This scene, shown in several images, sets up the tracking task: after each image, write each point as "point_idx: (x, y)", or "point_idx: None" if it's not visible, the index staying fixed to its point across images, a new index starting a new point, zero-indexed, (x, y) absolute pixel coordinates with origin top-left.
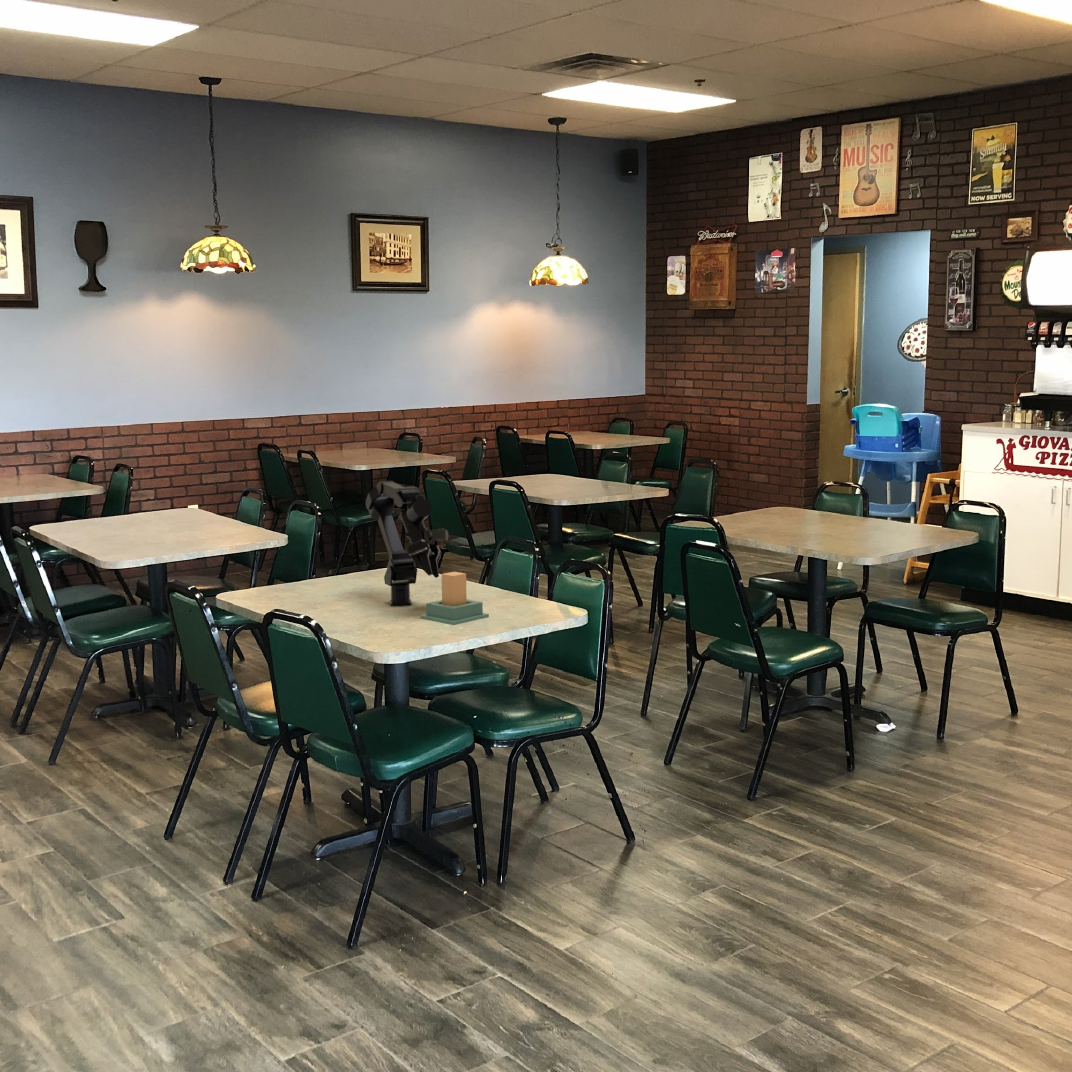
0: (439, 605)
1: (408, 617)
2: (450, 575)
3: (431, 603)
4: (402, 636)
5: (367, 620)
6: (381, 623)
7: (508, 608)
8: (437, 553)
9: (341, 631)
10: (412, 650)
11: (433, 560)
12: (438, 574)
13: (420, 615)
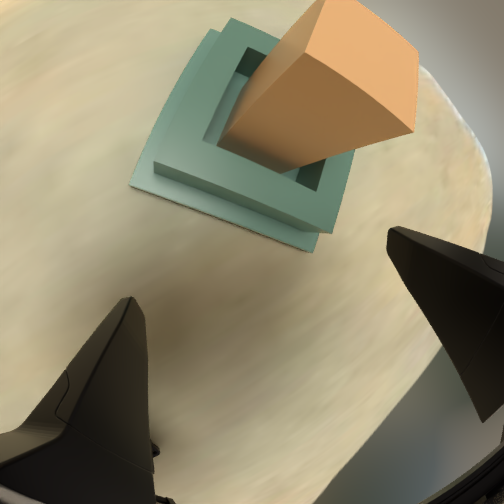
0: (347, 159)
1: (298, 304)
2: (417, 68)
3: (327, 208)
4: (447, 199)
5: (356, 378)
6: (379, 323)
7: (51, 40)
8: (7, 474)
9: (436, 342)
10: (478, 147)
11: (88, 444)
12: (123, 305)
13: (312, 252)
